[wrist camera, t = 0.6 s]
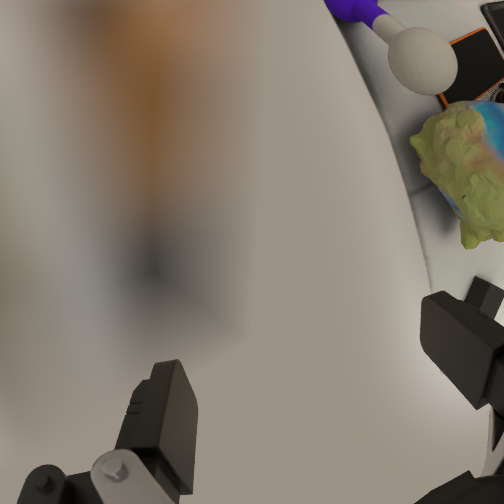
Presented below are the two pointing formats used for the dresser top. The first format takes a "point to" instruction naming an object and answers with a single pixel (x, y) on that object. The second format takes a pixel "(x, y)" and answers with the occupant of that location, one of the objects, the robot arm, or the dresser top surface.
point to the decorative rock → (467, 165)
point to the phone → (495, 18)
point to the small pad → (485, 297)
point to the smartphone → (474, 67)
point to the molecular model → (405, 47)
